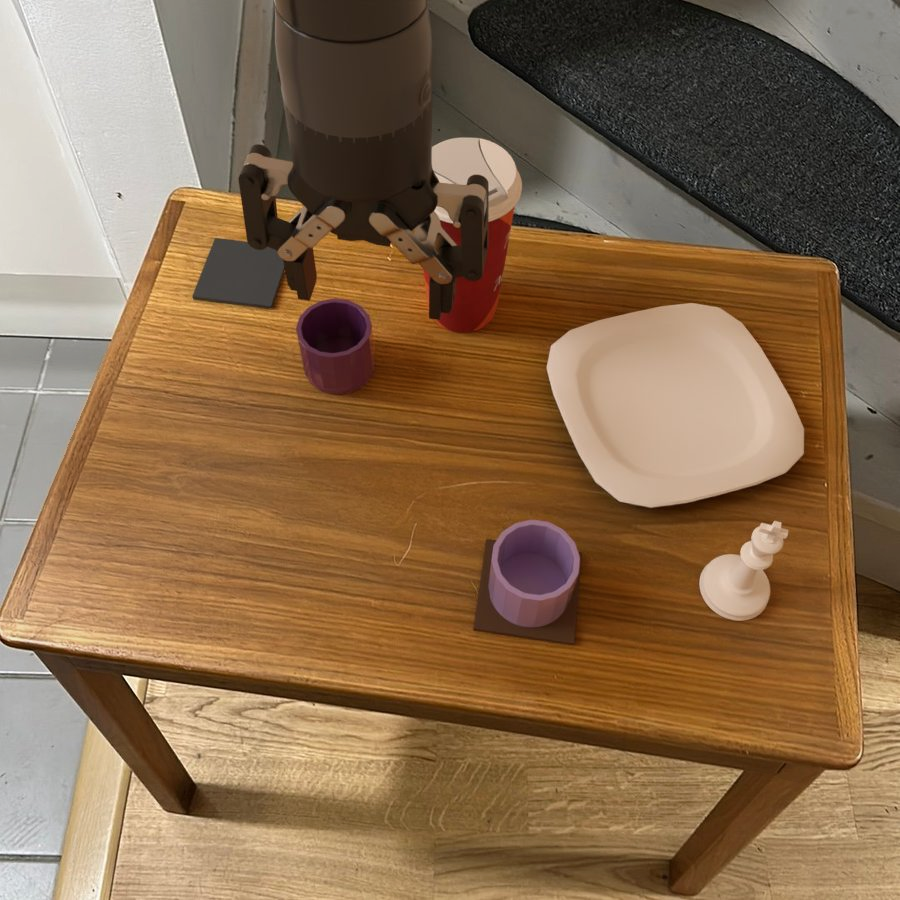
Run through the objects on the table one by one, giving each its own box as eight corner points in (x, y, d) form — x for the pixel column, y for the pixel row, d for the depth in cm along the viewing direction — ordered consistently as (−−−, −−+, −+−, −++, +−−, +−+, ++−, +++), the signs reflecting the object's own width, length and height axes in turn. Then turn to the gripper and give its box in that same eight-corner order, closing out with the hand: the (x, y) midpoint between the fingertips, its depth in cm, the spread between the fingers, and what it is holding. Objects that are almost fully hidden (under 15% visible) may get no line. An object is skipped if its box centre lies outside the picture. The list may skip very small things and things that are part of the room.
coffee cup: (528, 316, 79) (546, 180, 66) (449, 358, 77) (452, 226, 64) (472, 256, 83) (479, 116, 70) (395, 294, 80) (387, 157, 67)
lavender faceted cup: (483, 621, 64) (486, 592, 60) (493, 546, 67) (497, 514, 63) (566, 633, 64) (576, 605, 59) (573, 557, 67) (582, 526, 62)
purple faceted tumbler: (297, 389, 75) (288, 351, 71) (313, 334, 78) (306, 294, 74) (367, 398, 74) (363, 361, 70) (380, 342, 77) (377, 303, 73)
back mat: (192, 299, 80) (191, 296, 79) (215, 240, 83) (214, 237, 83) (272, 309, 79) (271, 306, 79) (291, 250, 83) (291, 246, 82)
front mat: (473, 630, 64) (473, 628, 64) (486, 540, 68) (486, 538, 67) (573, 645, 64) (574, 643, 63) (581, 554, 67) (582, 551, 67)
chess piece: (764, 629, 64) (814, 569, 56) (694, 609, 65) (732, 548, 57) (772, 567, 67) (821, 501, 58) (704, 549, 68) (743, 481, 59)
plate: (723, 302, 80) (728, 288, 79) (824, 475, 71) (832, 463, 70) (526, 346, 77) (528, 333, 76) (604, 532, 68) (608, 522, 67)
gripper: (509, 55, 47) (489, 273, 61) (240, 19, 48) (280, 242, 62) (487, 152, 43) (471, 362, 57) (194, 111, 44) (248, 328, 58)
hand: (371, 299), depth 60 cm, fingers open, 8 cm apart
